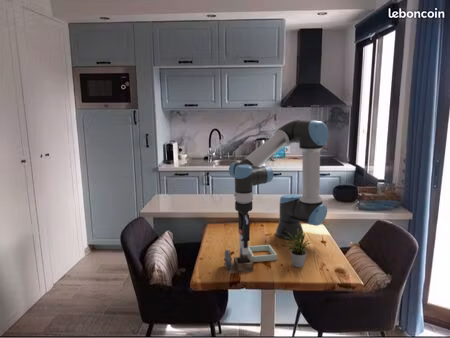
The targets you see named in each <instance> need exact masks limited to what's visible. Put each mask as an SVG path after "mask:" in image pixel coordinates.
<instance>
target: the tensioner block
mask: <svg viewBox="0 0 450 338" xmlns="http://www.w3.org/2000/svg"><path fill="white" fill-rule="evenodd" d="M223 258H224V259H223V264H224V266H225V269H226V272H227V274H237V273H249V272H250V273H252V272H256V270H255V269H254V265H255V264H254V263H255V262H253V261H252V260H251V258H250V256H249V255H248V260H249V262H248V263H240V256H237V257H236V256H234V257H233V259H232V254H231V250H230V249H225V250H224V257H223Z"/></svg>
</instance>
